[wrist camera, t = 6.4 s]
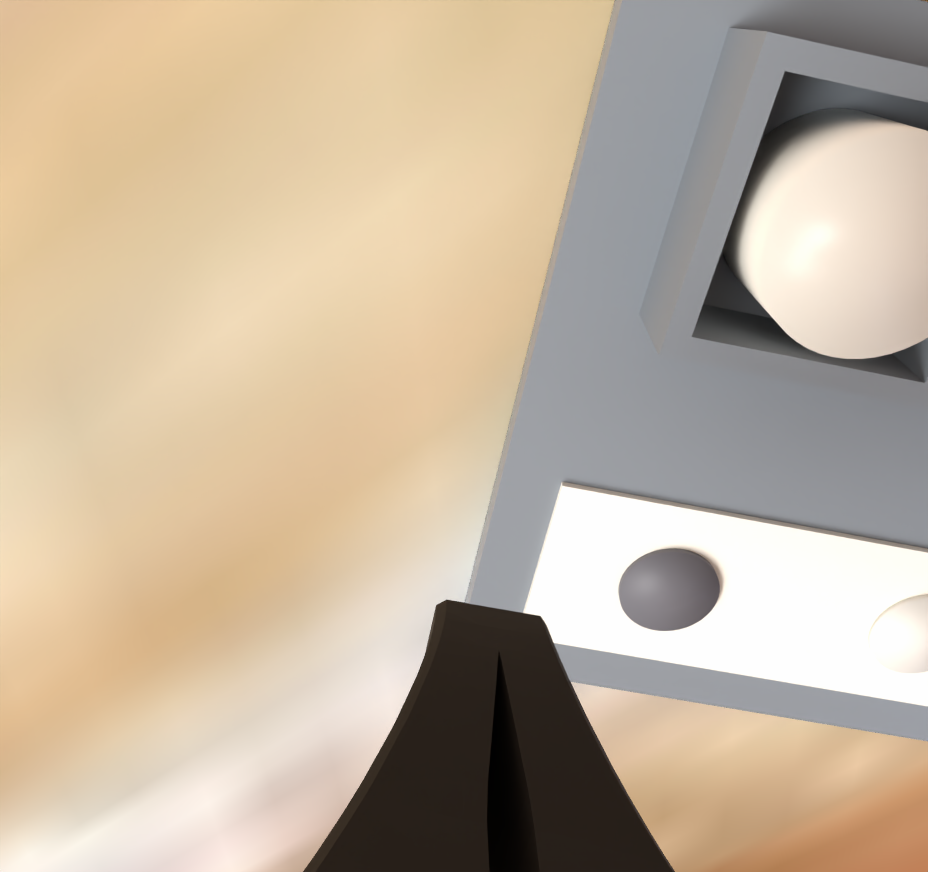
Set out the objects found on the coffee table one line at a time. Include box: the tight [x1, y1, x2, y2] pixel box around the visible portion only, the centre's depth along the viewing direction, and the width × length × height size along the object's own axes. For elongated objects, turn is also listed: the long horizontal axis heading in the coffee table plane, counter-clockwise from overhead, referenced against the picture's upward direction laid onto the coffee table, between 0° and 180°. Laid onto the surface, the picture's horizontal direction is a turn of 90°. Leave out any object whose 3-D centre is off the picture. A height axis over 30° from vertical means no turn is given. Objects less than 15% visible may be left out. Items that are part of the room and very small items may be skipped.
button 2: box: [722, 109, 928, 359], centre depth 15 cm, size 4×4×3 cm
